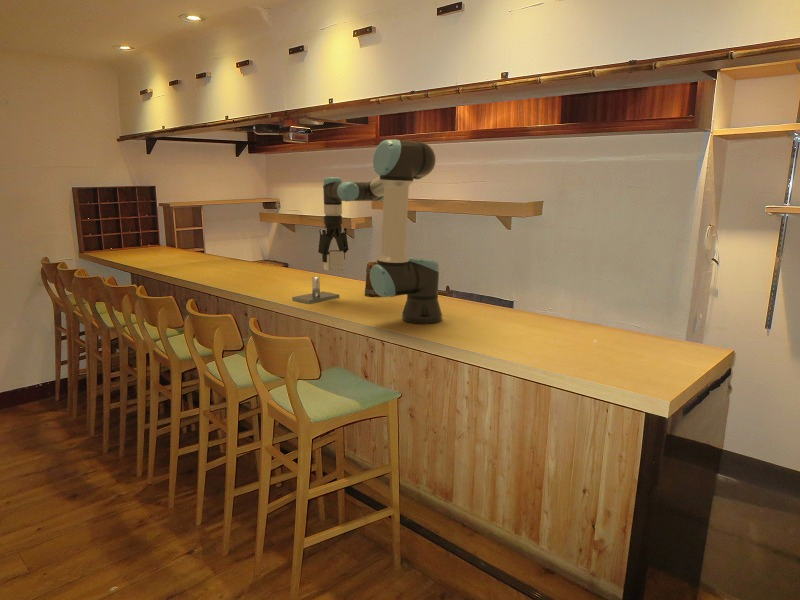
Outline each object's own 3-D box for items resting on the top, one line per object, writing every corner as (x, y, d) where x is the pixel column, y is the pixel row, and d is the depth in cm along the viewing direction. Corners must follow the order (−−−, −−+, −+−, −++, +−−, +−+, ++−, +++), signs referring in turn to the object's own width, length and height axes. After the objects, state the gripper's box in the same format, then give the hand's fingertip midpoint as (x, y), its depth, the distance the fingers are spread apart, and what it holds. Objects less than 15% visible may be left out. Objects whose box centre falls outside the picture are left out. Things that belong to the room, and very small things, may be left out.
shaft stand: (339, 297, 240) (339, 275, 238) (309, 304, 226) (308, 280, 224) (322, 294, 247) (322, 273, 245) (292, 300, 233) (291, 277, 231)
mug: (361, 296, 244) (360, 263, 241) (369, 292, 254) (369, 260, 251) (393, 298, 239) (393, 265, 236) (400, 294, 249) (401, 262, 246)
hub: (347, 269, 228) (347, 250, 227) (333, 271, 222) (333, 252, 221) (334, 267, 233) (334, 249, 232) (320, 269, 227) (320, 250, 226)
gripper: (344, 214, 233) (345, 265, 238) (308, 215, 218) (309, 270, 222) (356, 214, 229) (357, 267, 233) (320, 216, 213) (321, 272, 217)
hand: (334, 268), depth 228 cm, fingers closed on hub, 8 cm apart
